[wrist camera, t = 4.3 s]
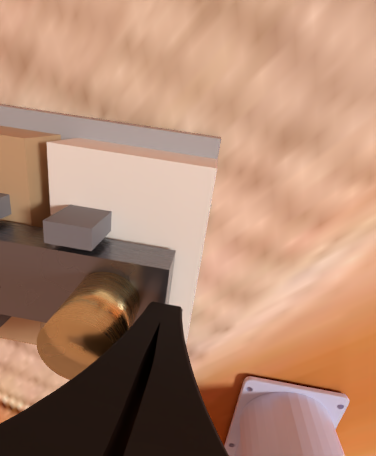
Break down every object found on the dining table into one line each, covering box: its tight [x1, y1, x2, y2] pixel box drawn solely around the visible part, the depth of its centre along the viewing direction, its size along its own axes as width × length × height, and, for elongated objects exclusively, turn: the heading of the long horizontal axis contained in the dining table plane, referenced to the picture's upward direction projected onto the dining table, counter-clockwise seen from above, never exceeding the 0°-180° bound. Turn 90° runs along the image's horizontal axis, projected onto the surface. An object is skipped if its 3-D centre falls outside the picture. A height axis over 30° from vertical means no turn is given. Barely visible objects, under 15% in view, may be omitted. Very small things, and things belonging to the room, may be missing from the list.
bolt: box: [0, 221, 176, 380], centre depth 12 cm, size 4×9×5 cm, turn 82°
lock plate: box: [0, 104, 221, 345], centre depth 15 cm, size 14×16×7 cm
